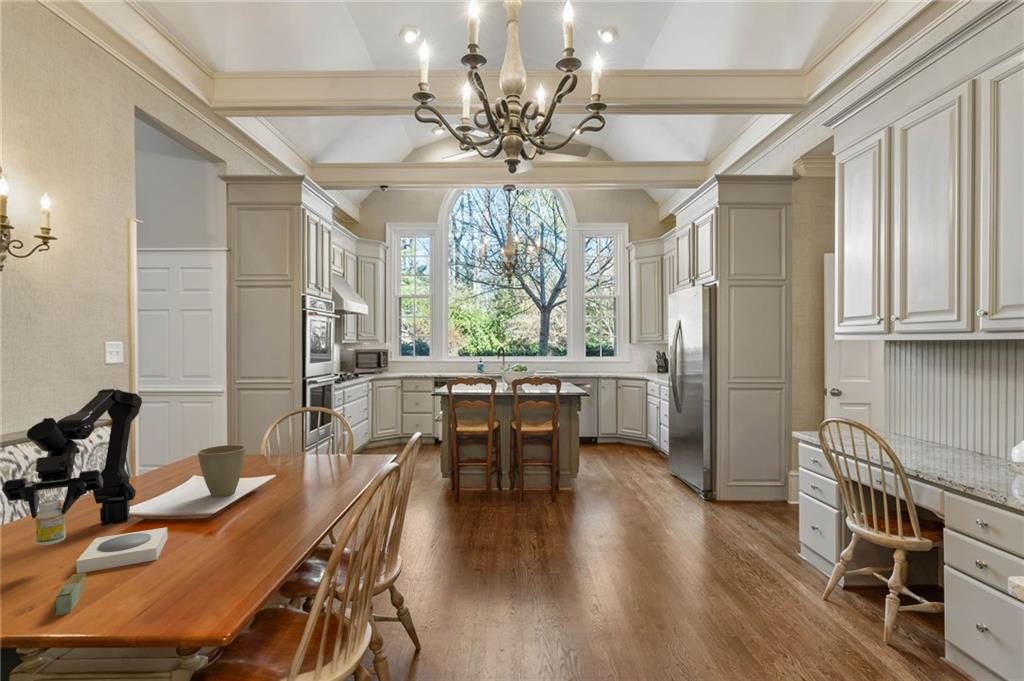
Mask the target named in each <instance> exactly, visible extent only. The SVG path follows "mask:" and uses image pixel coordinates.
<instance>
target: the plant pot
mask: <svg viewBox="0 0 1024 681" xmlns="http://www.w3.org/2000/svg"><path fill="white" fill-rule="evenodd" d="M245 452H246V446H245V445H243V444H227V445H226V444H225V445H217V446H211V447H207V448H201V449H199V450H198V451H197V457H198V462H199V467H200V470H201V473H202V476H203V480H204V482H205V485H206V487H207V490H208V492H209V493H210V496H211V497H213V498H220V497H229V496H231V495H233V494H235V493H236V491H237V487H238V485H239V482H240V479H241V475H242V470H243V466H244V461H245V454H246V453H245Z"/></svg>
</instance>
